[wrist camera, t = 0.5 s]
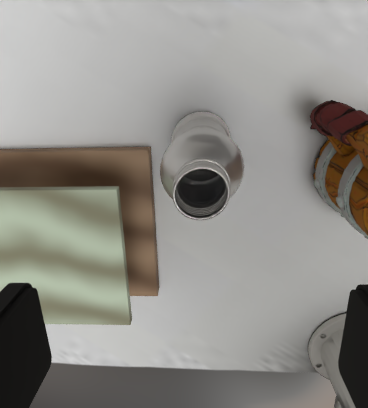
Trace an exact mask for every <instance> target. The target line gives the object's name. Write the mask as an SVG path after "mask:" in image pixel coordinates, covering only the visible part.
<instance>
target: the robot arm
mask: <svg viewBox="0 0 368 408" xmlns="http://www.w3.org/2000/svg"><path fill="white" fill-rule="evenodd" d="M308 354H309V358H310V361H311V363H312V365H313V367H314V368H315V370H316V371H317V372H318V373H319V374H320V375H322V376H323V377H325V378H327V379H329V380H330V381H331V383H332V386H333V388H334V390H335V393H336V395H337V396H336V399H335V405H334V407H335V408H368V285H358V286H357V287H356V290H351V292H350V296H349V301H348V307H347V313H346V314H342V315H338V316H336V317H334V318H331V319H329V320H328V321H326V322H325V323H323V324H322V325H321V326H320V327H319V328H318V329H317V330H316V331H315V332H314V333H313V335H312V337H311V339H310V342H309V346H308ZM51 358H52V357H51V351H50V347H49V342H48V337H47V333H46V328H45V323H44V319H43V314H42V309H41V305H40V300H39V295H38V291H37V289H36V288H33V287H32V285H31V284H30V283H9V284H7V285H6V286H5V287H4V288H3V289H2V290H1V292H0V408H29V406H30V404H31V403H32V401H33V399H34V397H35V395H36V393H37V391H38V389H39V387H40V385H41V383H42V382H43V380H44V378H45V376H46V374H47V372H48V370H49V368H50V365H51Z"/></svg>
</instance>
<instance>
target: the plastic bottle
mask: <svg viewBox="0 0 368 408" xmlns="http://www.w3.org/2000/svg"><path fill="white" fill-rule="evenodd" d="M243 173H244V161H243V157H242V154H241V151H240V150H239V148H238V146H237V145H236V144H235V142H234V141H233V140H232V139H231V138H230V132H229V129H228V127H227V125H226V123H225V122H224V121H223V120H222V119H221V118H220V117H218V116H217V115H215V114H213V113H209V112H195V113H192V114H189V115H187V116H185V117H184V118H182V119H181V120H180V121H179V122H178V124H177V125H176V126H175V128H174V130H173V133H172V137H171V144H170V146H169V147H168V148H167V150H166V151H165V153H164V156H163V158H162V162H161V166H160V175H161V181H162V184H163V186H164V188H165V190H166V192H167V193H168V194H169V196H170V197H171V198H172V199H173V200H174V203H175V206H176V207H177V209H178V210H179V211H180V212H181V213H182V214H183V215H185V216H186V217H188V218H191V219H195V220H206V219H210V218H213V217H215V216H216V215H218V214H219V213H220V212H222V211H223V209H224V208H225V207H226V205H227V203H228V201H229V199H230V198H231V197H232V196H233V194H234V193H235V192H236V191H237V189H238V187H239V185H240V183H241V181H242V178H243Z"/></svg>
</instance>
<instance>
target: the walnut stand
mask: <svg viewBox="0 0 368 408" xmlns="http://www.w3.org/2000/svg"><path fill="white" fill-rule="evenodd" d="M9 283H30V284H31V285H32V287H33V288H36V289H37V291H38V295H39V300H40V305H41V309H42V314H43V319H44V323H45V324H95V325H130V324H131V321H132V314H131V304H130V296H158V291H159V276H158V260H157V243H156V227H155V210H154V193H153V177H152V160H151V147H102V148H36V149H0V292H1V290H2V289H3V288H4V287H5V286H6V285H7V284H9Z"/></svg>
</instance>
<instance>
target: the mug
mask: <svg viewBox="0 0 368 408" xmlns="http://www.w3.org/2000/svg"><path fill="white" fill-rule="evenodd" d="M310 118H311V123H312V125H311V129H316V130H318V131H319V133H321V134H323V135H324V136H327V137H328V139H329V140H327V141H326V142H325V144H324V145H323V146H322V147H321V149H320V153H319V155H320V157H318V158H316V161H315V165H314V168H315V169H316V171H315V173H314V174H313V177H314V185H315V187H316V188H317V189H318V192H319V194H320V196H321V197H322V199H323V200H324V201H325V202H326V203H327V204H328V205H329V206H330V207H332V208H333V209H334V210H335V211H337V212H339V213H340V214H341V216H342V217H344V218H345V219H346V220H347V221H348V222H349V223H350V224H351V225H352V226H353V227H354V228H355V229H356V230H357V231H359V232H360V233H361V234H363V235H364V236H365V238H367V239H368V115H367V114H366V113H364V112H362V111H361V110H358V111H356V110H355V109H354V108H352V107H350V106H348V105H346V104H343V103H340V102H336V101H333V100H331V101H326V102H324V103H322V104H320V105H318V106H317V107H316V108H315V109H313V110H312V112H311V115H310Z"/></svg>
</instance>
